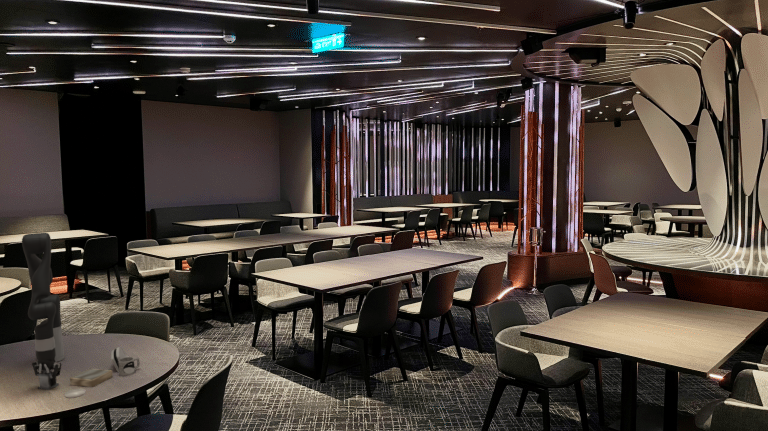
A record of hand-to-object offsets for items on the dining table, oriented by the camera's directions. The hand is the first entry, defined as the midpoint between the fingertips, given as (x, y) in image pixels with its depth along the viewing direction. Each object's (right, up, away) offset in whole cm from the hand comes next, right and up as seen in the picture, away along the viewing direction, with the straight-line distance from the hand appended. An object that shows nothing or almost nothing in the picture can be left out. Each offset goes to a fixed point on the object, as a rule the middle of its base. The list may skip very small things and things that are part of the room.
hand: (48, 384), depth 249 cm
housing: (0, -1, 0) cm, 1 cm away
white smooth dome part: (+16, -2, -8) cm, 18 cm away
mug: (+29, +1, +16) cm, 33 cm away
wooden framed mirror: (+16, 0, +6) cm, 17 cm away
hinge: (+21, +1, +24) cm, 32 cm away
